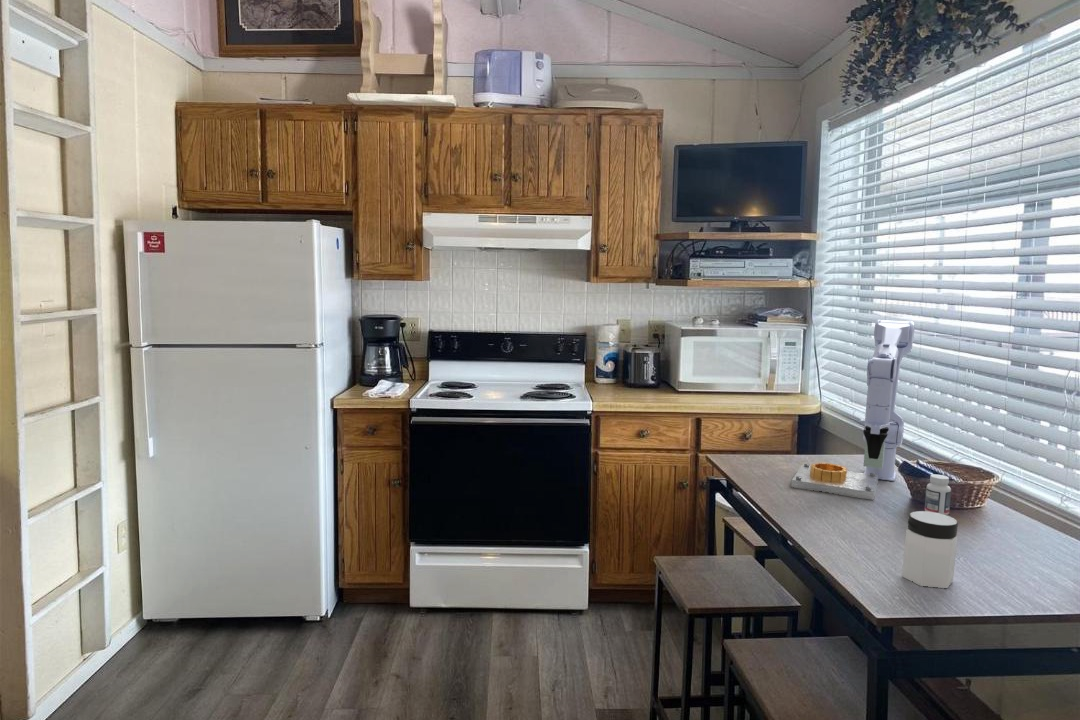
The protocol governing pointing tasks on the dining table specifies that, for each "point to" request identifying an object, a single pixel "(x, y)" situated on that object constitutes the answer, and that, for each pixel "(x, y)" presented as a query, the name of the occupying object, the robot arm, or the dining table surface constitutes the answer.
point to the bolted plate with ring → (835, 480)
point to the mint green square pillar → (874, 462)
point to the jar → (930, 549)
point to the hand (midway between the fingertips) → (873, 456)
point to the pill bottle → (938, 495)
